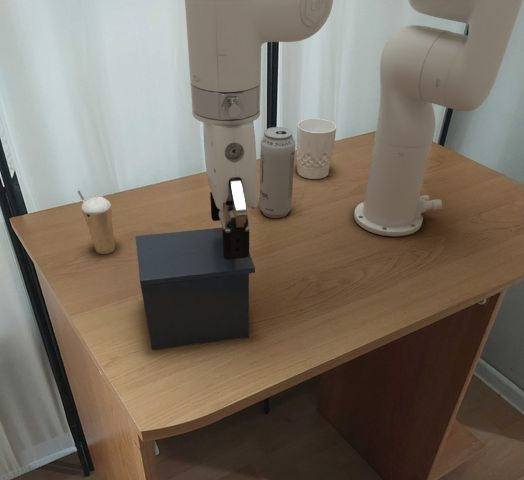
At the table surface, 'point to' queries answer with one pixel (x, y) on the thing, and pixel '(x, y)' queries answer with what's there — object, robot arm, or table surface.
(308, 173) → the white cup
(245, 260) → the lid
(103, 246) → the milkshake
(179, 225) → the table surface
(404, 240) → the table surface
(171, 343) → the bin
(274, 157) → the energy drink can
